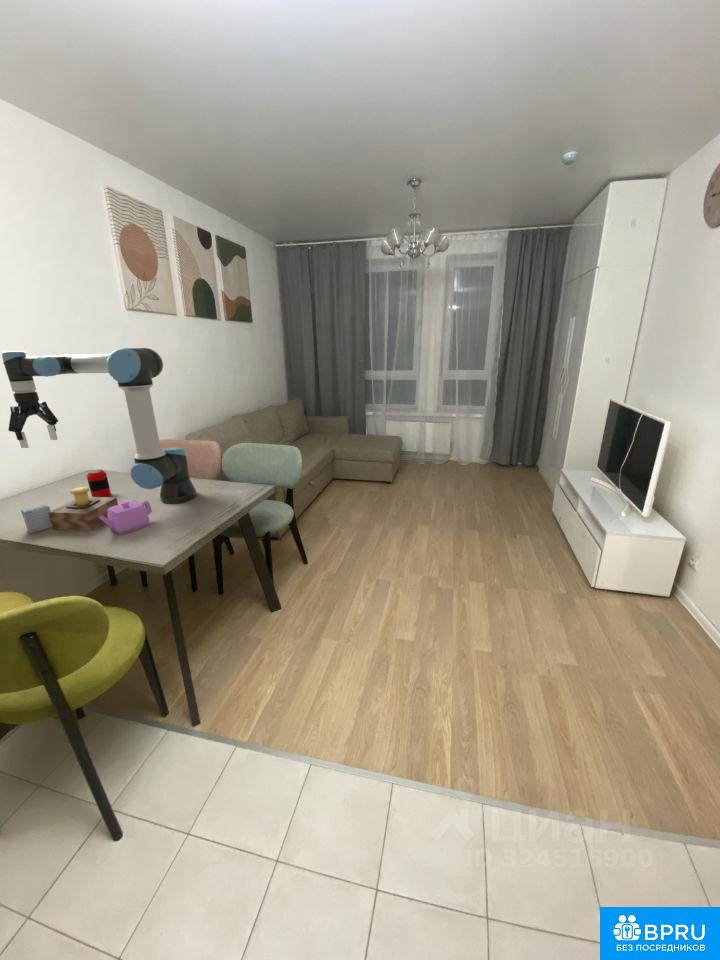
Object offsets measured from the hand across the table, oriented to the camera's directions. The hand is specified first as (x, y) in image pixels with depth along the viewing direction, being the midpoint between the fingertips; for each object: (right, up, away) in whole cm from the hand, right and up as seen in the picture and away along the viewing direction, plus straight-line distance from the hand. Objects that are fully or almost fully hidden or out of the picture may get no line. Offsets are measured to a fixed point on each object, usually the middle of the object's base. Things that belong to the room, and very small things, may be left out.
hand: (40, 443), depth 166 cm
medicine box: (+11, -34, -13) cm, 38 cm away
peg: (+25, -27, -9) cm, 37 cm away
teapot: (+45, -34, -13) cm, 58 cm away
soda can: (+13, -23, +19) cm, 33 cm away
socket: (+25, -31, -7) cm, 41 cm away
